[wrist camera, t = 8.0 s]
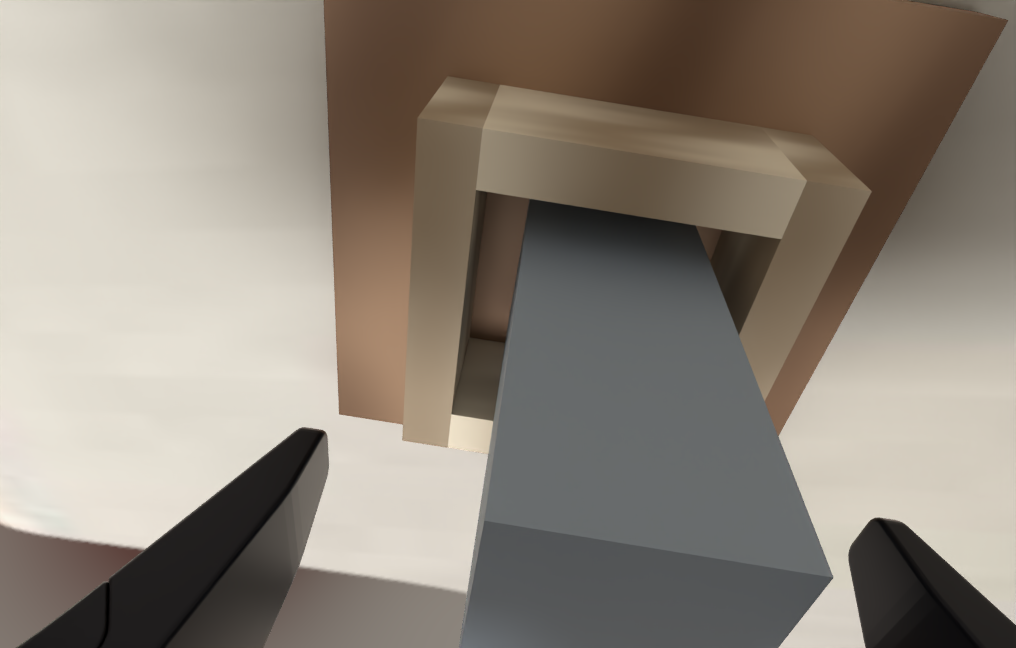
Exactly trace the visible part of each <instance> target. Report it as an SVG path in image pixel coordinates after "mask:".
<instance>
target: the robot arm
mask: <svg viewBox="0 0 1016 648" xmlns="http://www.w3.org/2000/svg"><path fill="white" fill-rule="evenodd" d="M328 469H329V457H328V438H327V434H326V432H325V431H323V430H319V429H313V428H306V427H302V428H299V429H298V430H296V431H295V432H294V433H292V434H291V435H290V436H288V437H287V438H286V439H285V440H283V441H282V442H281V443H280V444H278V445H277V446H276V447H275V448H273V449H272V450H271V451H269V452H268V453H267V454H266V455H264V456H263V457H262V458H261V459H259V460H258V461H257V462H255V463H254V464H253V465H252V466H250V467H249V468H248V469H247V470H245V471H244V472H243V473H242V474H240V475H239V476H238V477H236V478H235V479H234V480H233V481H231V482H230V483H229V484H228V485H226V486H225V487H224V488H222V489H221V490H220V491H219V492H217V493H216V494H215V495H214V496H212V497H211V498H210V499H209V500H207V501H206V502H205V503H203V504H202V505H201V506H200V507H198V508H197V509H196V510H195V511H193V512H192V513H191V514H189V515H188V516H187V517H186V518H184V519H183V520H182V521H181V522H179V523H178V524H177V525H176V526H174V527H173V528H172V529H170V530H169V531H168V532H167V533H165V534H164V535H163V536H162V537H160V538H159V539H158V540H156V541H155V542H154V543H153V544H151V545H150V546H149V547H148V548H146V549H145V550H144V551H143V552H141V553H140V554H139V555H137V556H136V557H135V558H134V559H132V560H131V561H130V562H129V563H127V564H126V565H125V566H123V567H122V568H121V569H120V570H118V571H117V572H116V573H115V574H113V575H112V576H111V577H110V578H109V583H108V582H103V583H102V584H100V585H99V586H98V587H96V588H95V589H94V590H93V591H91V592H90V593H89V594H88V595H86V596H85V597H84V598H83V599H81V600H80V601H79V602H77V603H76V604H75V605H73V606H72V607H71V608H70V609H68V610H67V611H65V612H64V613H63V614H61V615H60V616H59V617H58V618H56V619H55V620H54V621H52V622H51V623H50V624H48V625H47V626H46V627H44V628H43V629H42V630H40V631H39V632H38V633H36V634H35V635H34V636H32V637H30V638H29V639H28V640H26V641H25V642H23V643H22V644H20V645H19V646H18V647H16V648H263V647H264V645H265V643H266V641H267V638H268V636H269V634H270V632H271V629H272V627H273V625H274V622H275V620H276V618H277V616H278V613H279V611H280V609H281V607H282V604H283V602H284V600H285V597H286V595H287V593H288V591H289V588H290V586H291V584H292V582H293V579H294V577H295V575H296V572H297V570H298V567H299V565H300V562H301V559H302V556H303V553H304V550H305V546H306V543H307V540H308V537H309V534H310V530H311V527H312V524H313V521H314V518H315V514H316V511H317V508H318V505H319V502H320V498H321V495H322V492H323V489H324V486H325V482H326V479H327V475H328ZM848 556H849V566H850V571H851V576H852V581H853V586H854V591H855V597H856V602H857V607H858V612H859V617H860V622H861V627H862V633H863V638H864V642H865V647H866V648H1016V625H1015V624H1014V623H1013V622H1012V621H1011V620H1010V619H1008V618H1007V617H1006V616H1005V615H1004V614H1003V613H1002V612H1001V611H1000V610H999V609H998V608H996V607H995V606H994V605H993V604H992V603H991V602H990V601H989V600H988V599H987V598H985V597H984V596H983V595H982V594H981V593H980V592H979V591H978V590H977V589H976V588H975V587H973V586H972V585H971V584H970V583H969V582H968V581H967V580H966V579H965V578H964V577H962V576H961V575H960V574H959V573H958V572H957V571H956V570H955V569H954V568H953V567H952V566H950V565H949V564H948V563H947V562H946V561H945V560H944V559H943V558H942V557H941V556H939V555H938V554H937V553H936V552H935V551H934V550H933V549H932V548H931V547H930V546H929V545H927V544H926V543H925V542H924V541H923V540H922V539H921V538H920V537H919V536H918V535H916V534H915V533H914V532H913V531H912V530H911V529H910V528H909V527H908V526H906V525H905V524H904V523H902V522H900V521H897V520H891V519H885V518H874V519H872V520H870V521H869V522H868V524H867V525H866V526H865V528H864V529H863V530H862V532H861V533H860V534H859V536H858V537H857V538H856V539H855V541H854V542H853V543H852V545H851V547H850V549H849V555H848Z"/></svg>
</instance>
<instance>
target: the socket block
mask: <svg viewBox="0 0 1016 648" xmlns="http://www.w3.org/2000/svg"><path fill="white" fill-rule="evenodd" d="M1007 21H1008V20H1006V19H1002V18H998V17H994V16H990V15H986V14H982V13H979V12H974V11H968V10H962V9H956V8H950V7H944V6H938V5H932V4H925V3H919V2H913V1H907V0H324V22H325V49H326V76H327V102H328V129H329V156H330V183H331V209H332V236H333V263H334V290H335V316H336V343H337V370H338V396H339V414H341V415H347V416H353V417H360V418H366V419H372V420H379V421H385V422H391V423H397V424H403V438H402V440H403V441H409V442H416V443H422V444H428V445H434V446H441V447H447V448H453V449H460V450H466V451H472V452H478V453H485V454H488V453H489V446H490V440H491V433H492V427H493V420H494V413H495V407H496V400H497V394H498V387H499V381H500V374H501V367H502V361H503V354H504V348H505V341H506V334H507V328H508V321H509V315H510V309H511V303H512V298H513V292H514V286H515V280H516V275H517V269H518V263H519V257H520V251H521V246H522V240H523V234H524V228H525V223H526V217H527V211H528V205H529V200H530V199H535V200H541V201H547V202H554V203H560V204H566V205H572V206H578V207H585V208H591V209H597V210H603V211H609V212H616V213H622V214H628V215H634V216H640V217H647V218H653V219H659V220H665V221H671V222H678V223H684V224H690V225H696V227H697V230H698V232H699V235H700V238H701V240H702V243H703V245H704V248H705V250H706V253H707V255H708V258H709V261H710V263H711V266H712V268H713V271H714V273H715V276H716V279H717V281H718V284H719V286H720V289H721V291H722V294H723V296H724V299H725V302H726V304H727V307H728V309H729V312H730V314H731V317H732V319H733V322H734V325H735V327H736V330H737V332H738V335H739V337H740V340H741V342H742V345H743V348H744V350H745V353H746V355H747V358H748V360H749V363H750V365H751V368H752V371H753V373H754V376H755V378H756V381H757V383H758V386H759V388H760V391H761V394H762V396H763V399H764V401H765V404H766V406H767V409H768V412H769V414H770V417H771V419H772V422H773V424H774V427H775V429H776V432H777V435H778V436H779V434H780V432H781V430H782V428H783V427H784V425H785V423H786V421H787V419H788V418H789V416H790V414H791V412H792V410H793V409H794V407H795V405H796V403H797V401H798V399H799V398H800V396H801V394H802V392H803V390H804V389H805V387H806V385H807V383H808V381H809V380H810V378H811V376H812V374H813V372H814V371H815V369H816V367H817V365H818V363H819V361H820V360H821V358H822V356H823V354H824V352H825V351H826V349H827V347H828V345H829V343H830V342H831V340H832V338H833V336H834V334H835V333H836V331H837V329H838V327H839V325H840V324H841V322H842V320H843V318H844V316H845V314H846V313H847V311H848V309H849V307H850V305H851V304H852V302H853V300H854V298H855V296H856V295H857V293H858V291H859V289H860V287H861V286H862V284H863V282H864V280H865V278H866V276H867V275H868V273H869V271H870V269H871V267H872V266H873V264H874V262H875V260H876V258H877V257H878V255H879V253H880V251H881V249H882V248H883V246H884V244H885V242H886V240H887V239H888V237H889V235H890V233H891V231H892V229H893V228H894V226H895V224H896V222H897V220H898V219H899V217H900V215H901V213H902V211H903V210H904V208H905V206H906V204H907V202H908V201H909V199H910V197H911V195H912V193H913V191H914V190H915V188H916V186H917V184H918V182H919V181H920V179H921V177H922V175H923V173H924V172H925V170H926V168H927V166H928V164H929V163H930V161H931V159H932V157H933V155H934V154H935V152H936V150H937V148H938V146H939V144H940V143H941V141H942V139H943V137H944V135H945V134H946V132H947V130H948V128H949V126H950V125H951V123H952V121H953V119H954V117H955V116H956V114H957V112H958V110H959V108H960V106H961V105H962V103H963V101H964V99H965V97H966V96H967V94H968V92H969V90H970V88H971V87H972V85H973V83H974V81H975V79H976V78H977V76H978V74H979V72H980V70H981V69H982V67H983V65H984V63H985V61H986V59H987V58H988V56H989V54H990V52H991V50H992V49H993V47H994V45H995V43H996V41H997V40H998V38H999V36H1000V34H1001V32H1002V31H1003V29H1004V27H1005V25H1006V23H1007Z"/></svg>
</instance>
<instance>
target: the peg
mask: <svg viewBox="0 0 1016 648" xmlns="http://www.w3.org/2000/svg"><path fill="white" fill-rule="evenodd" d="M832 579H833V575H832V573H831V570H830V568H829V565H828V562H827V560H826V557H825V555H824V552H823V550H822V547H821V545H820V542H819V539H818V537H817V534H816V532H815V529H814V527H813V524H812V522H811V519H810V516H809V514H808V511H807V509H806V506H805V504H804V501H803V498H802V496H801V493H800V491H799V488H798V486H797V483H796V481H795V478H794V475H793V473H792V470H791V468H790V465H789V463H788V460H787V458H786V455H785V452H784V450H783V447H782V445H781V442H780V440H779V437H778V435H777V432H776V429H775V427H774V424H773V422H772V419H771V417H770V414H769V412H768V409H767V406H766V404H765V401H764V399H763V396H762V394H761V391H760V388H759V386H758V383H757V381H756V378H755V376H754V373H753V371H752V368H751V365H750V363H749V360H748V358H747V355H746V353H745V350H744V348H743V345H742V342H741V340H740V337H739V335H738V332H737V330H736V327H735V325H734V322H733V319H732V317H731V314H730V312H729V309H728V307H727V304H726V302H725V299H724V296H723V294H722V291H721V289H720V286H719V284H718V281H717V279H716V276H715V273H714V271H713V268H712V266H711V263H710V261H709V258H708V255H707V253H706V250H705V248H704V245H703V243H702V240H701V238H700V235H699V232H698V230H697V227H696V225H690V224H684V223H678V222H671V221H665V220H659V219H653V218H647V217H640V216H634V215H628V214H622V213H616V212H609V211H603V210H597V209H591V208H585V207H578V206H572V205H566V204H560V203H554V202H547V201H541V200H535V199H530V200H529V205H528V211H527V217H526V223H525V228H524V234H523V240H522V246H521V251H520V257H519V263H518V269H517V275H516V280H515V286H514V292H513V298H512V303H511V309H510V315H509V321H508V328H507V334H506V341H505V348H504V354H503V361H502V367H501V374H500V381H499V387H498V394H497V400H496V407H495V413H494V420H493V427H492V433H491V440H490V446H489V453H488V460H487V466H486V473H485V479H484V486H483V492H482V499H481V506H480V512H479V519H478V525H477V532H476V539H475V545H474V552H473V558H472V565H471V571H470V578H469V585H468V591H467V598H466V605H465V611H464V618H463V624H462V631H461V637H460V644H459V648H778V647H779V646H780V645H781V643H782V642H783V641H784V640H785V638H786V637H787V636H788V635H789V633H790V632H791V631H792V629H793V628H794V627H795V626H796V624H797V623H798V622H799V621H800V619H801V618H802V617H803V616H804V614H805V613H806V612H807V610H808V609H809V608H810V607H811V605H812V604H813V603H814V602H815V600H816V599H817V598H818V597H819V595H820V594H821V593H822V591H823V590H824V589H825V588H826V586H827V585H828V584H829V583H830V581H831V580H832Z"/></svg>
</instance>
